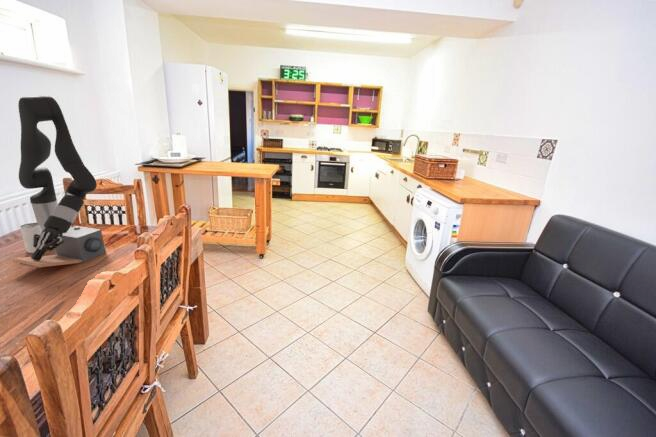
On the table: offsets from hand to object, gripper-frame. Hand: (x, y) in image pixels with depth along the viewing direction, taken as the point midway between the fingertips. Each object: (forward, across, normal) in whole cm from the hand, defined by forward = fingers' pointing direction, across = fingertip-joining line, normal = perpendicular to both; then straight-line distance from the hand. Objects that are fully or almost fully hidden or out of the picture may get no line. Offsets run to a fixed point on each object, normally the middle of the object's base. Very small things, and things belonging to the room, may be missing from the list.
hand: (35, 259), depth 112 cm
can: (-6, -23, +14) cm, 27 cm away
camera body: (-7, +1, +16) cm, 17 cm away
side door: (-4, 0, +12) cm, 12 cm away
